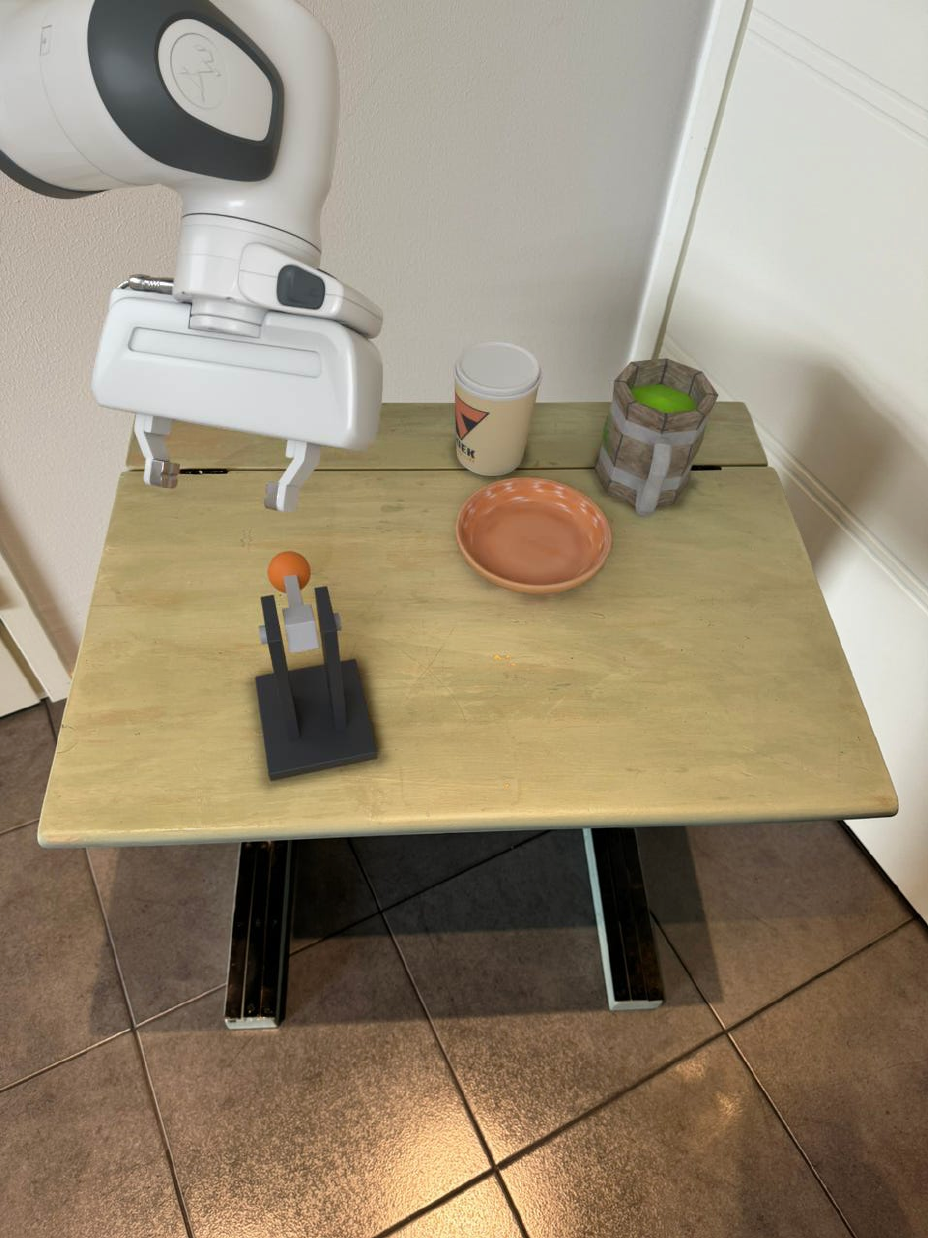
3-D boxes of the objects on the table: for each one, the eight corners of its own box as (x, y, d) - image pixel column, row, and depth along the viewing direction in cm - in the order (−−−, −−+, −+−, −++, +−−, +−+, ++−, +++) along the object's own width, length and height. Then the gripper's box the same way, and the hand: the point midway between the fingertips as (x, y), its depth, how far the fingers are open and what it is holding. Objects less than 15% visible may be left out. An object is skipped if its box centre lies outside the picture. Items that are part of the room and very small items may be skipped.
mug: (596, 439, 99) (616, 351, 90) (687, 452, 99) (717, 364, 89) (588, 531, 89) (609, 442, 80) (689, 546, 89) (722, 459, 79)
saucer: (434, 583, 83) (435, 562, 81) (478, 482, 93) (480, 461, 91) (590, 624, 81) (596, 604, 79) (619, 516, 91) (624, 496, 89)
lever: (270, 585, 73) (263, 548, 71) (311, 578, 74) (305, 541, 72) (281, 662, 62) (273, 620, 60) (329, 653, 63) (323, 611, 61)
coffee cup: (439, 435, 98) (442, 345, 89) (513, 423, 100) (524, 334, 91) (463, 487, 93) (469, 397, 83) (541, 473, 95) (556, 384, 85)
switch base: (256, 684, 75) (229, 573, 63) (355, 665, 77) (346, 555, 65) (270, 781, 69) (242, 679, 57) (377, 759, 71) (371, 655, 59)
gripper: (80, 256, 54) (59, 469, 56) (366, 288, 48) (330, 524, 50) (145, 284, 60) (123, 476, 62) (406, 315, 54) (372, 526, 56)
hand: (218, 498), depth 56 cm, fingers open, 8 cm apart
